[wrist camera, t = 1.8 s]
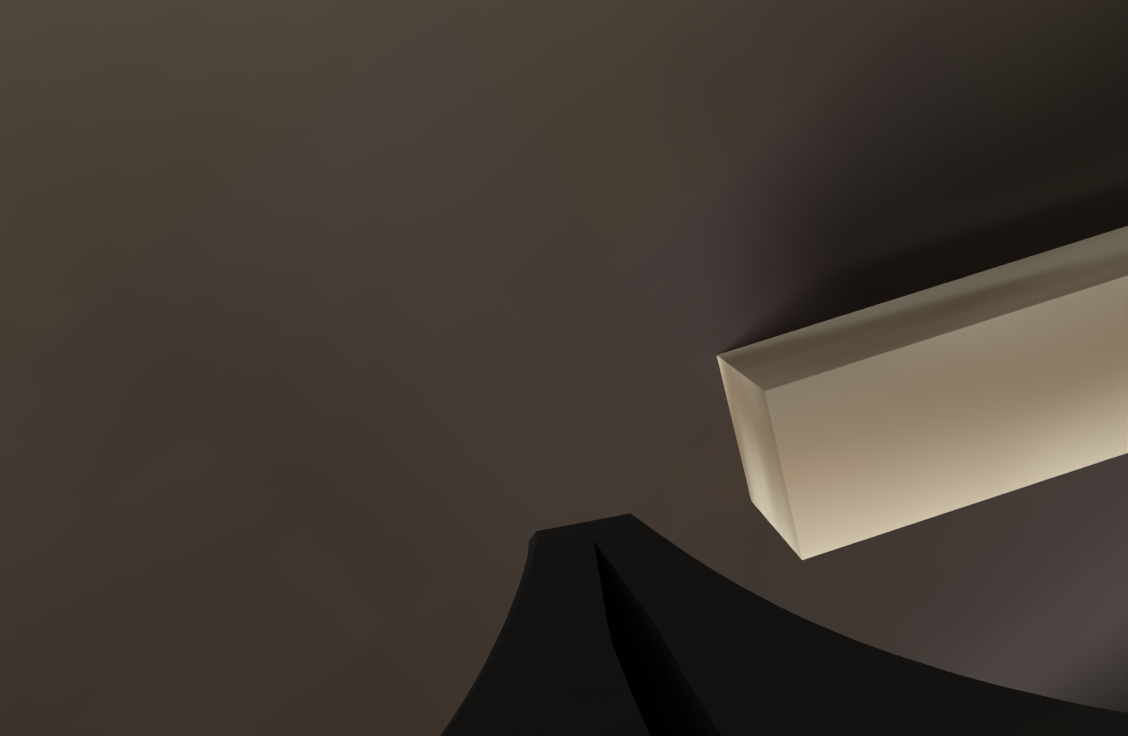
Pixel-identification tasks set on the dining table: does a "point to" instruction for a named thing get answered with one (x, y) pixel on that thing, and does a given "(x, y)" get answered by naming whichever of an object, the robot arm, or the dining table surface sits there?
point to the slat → (936, 396)
